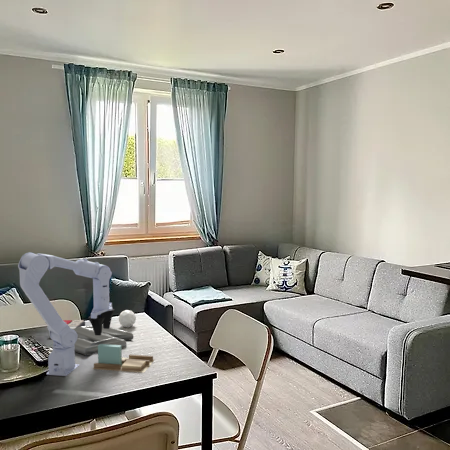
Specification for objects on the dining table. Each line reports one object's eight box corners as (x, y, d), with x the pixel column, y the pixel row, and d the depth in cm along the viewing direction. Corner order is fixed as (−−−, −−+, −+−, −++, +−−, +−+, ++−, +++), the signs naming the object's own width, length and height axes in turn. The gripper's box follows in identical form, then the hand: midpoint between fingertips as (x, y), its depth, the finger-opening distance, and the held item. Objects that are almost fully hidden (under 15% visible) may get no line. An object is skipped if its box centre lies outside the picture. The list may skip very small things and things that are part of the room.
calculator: (85, 319, 215) (75, 327, 200) (85, 328, 215) (75, 337, 200) (61, 319, 215) (49, 327, 200) (61, 328, 215) (49, 337, 200)
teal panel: (119, 367, 165) (119, 347, 165) (98, 366, 167) (97, 345, 166) (121, 365, 167) (121, 345, 167) (100, 364, 169) (100, 343, 168)
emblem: (48, 342, 180) (77, 320, 207) (48, 355, 180) (77, 332, 208) (119, 345, 177) (139, 323, 205) (119, 358, 177) (139, 335, 205)
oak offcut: (140, 368, 162) (140, 366, 162) (121, 367, 164) (121, 365, 163) (145, 363, 167) (145, 361, 167) (126, 362, 168) (126, 359, 168)
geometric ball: (130, 333, 214) (132, 322, 209) (114, 326, 215) (116, 315, 210) (137, 321, 220) (139, 310, 215) (122, 314, 221) (123, 304, 216)
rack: (144, 375, 161) (144, 368, 161) (92, 371, 164) (92, 364, 164) (154, 362, 173) (154, 355, 173) (106, 358, 176) (106, 352, 176)
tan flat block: (140, 371, 162) (140, 368, 162) (121, 369, 164) (121, 367, 164) (145, 365, 167) (145, 363, 167) (126, 364, 168) (126, 362, 168)
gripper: (103, 301, 166) (104, 338, 168) (119, 291, 181) (119, 326, 182) (84, 300, 168) (86, 337, 169) (101, 291, 182) (102, 325, 183)
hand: (102, 331), depth 176 cm, fingers open, 7 cm apart
